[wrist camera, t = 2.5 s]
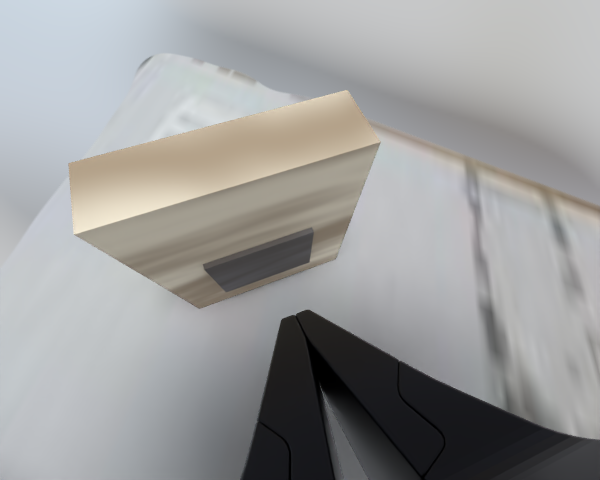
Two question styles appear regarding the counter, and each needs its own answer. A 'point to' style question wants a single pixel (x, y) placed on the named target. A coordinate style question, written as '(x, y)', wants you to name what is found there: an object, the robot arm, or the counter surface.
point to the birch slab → (229, 198)
